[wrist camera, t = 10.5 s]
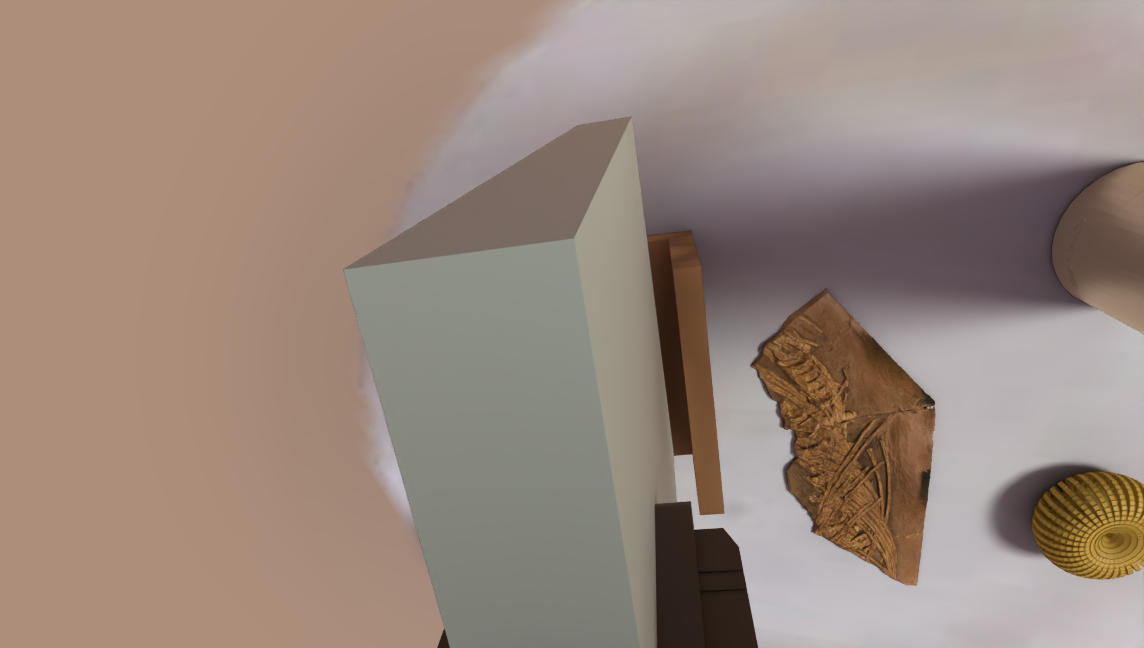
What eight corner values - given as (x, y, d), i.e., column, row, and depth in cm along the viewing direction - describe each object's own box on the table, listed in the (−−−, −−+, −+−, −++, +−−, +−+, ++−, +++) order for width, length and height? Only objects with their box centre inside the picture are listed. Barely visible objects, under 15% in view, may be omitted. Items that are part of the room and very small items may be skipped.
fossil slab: (736, 313, 45) (738, 319, 44) (903, 264, 43) (909, 269, 42) (822, 598, 53) (826, 607, 52) (967, 570, 51) (973, 579, 50)
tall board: (631, 116, 24) (574, 238, 5) (673, 450, 28) (721, 1151, 10) (577, 125, 24) (342, 269, 6) (627, 454, 29) (589, 1140, 10)
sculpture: (1092, 610, 46) (1027, 538, 44) (1058, 570, 50) (998, 502, 48) (1209, 551, 43) (1145, 472, 42) (1164, 513, 47) (1104, 439, 46)
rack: (690, 230, 43) (701, 266, 35) (711, 441, 49) (724, 513, 41) (457, 261, 46) (418, 300, 38) (502, 458, 51) (476, 529, 43)
